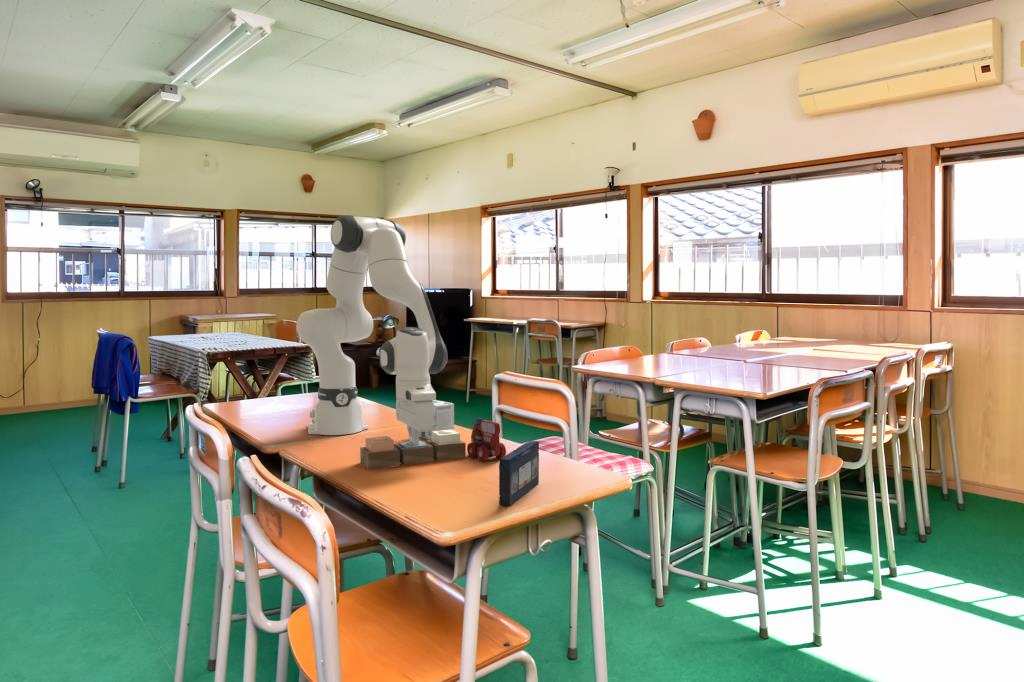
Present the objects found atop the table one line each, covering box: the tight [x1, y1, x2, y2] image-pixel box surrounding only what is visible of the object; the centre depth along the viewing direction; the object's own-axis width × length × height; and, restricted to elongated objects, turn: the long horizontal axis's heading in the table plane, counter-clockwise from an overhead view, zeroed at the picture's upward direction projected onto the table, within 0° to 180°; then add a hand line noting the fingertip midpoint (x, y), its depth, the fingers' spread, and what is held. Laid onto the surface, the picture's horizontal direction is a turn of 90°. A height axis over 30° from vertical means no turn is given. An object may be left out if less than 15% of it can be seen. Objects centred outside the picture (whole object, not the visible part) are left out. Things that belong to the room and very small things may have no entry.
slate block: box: [398, 440, 428, 449], centre depth 178 cm, size 6×6×4 cm
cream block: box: [432, 429, 461, 445], centre depth 182 cm, size 6×6×4 cm
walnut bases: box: [359, 439, 467, 471], centre depth 178 cm, size 8×26×4 cm, turn 117°
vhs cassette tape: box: [498, 440, 540, 508], centre depth 148 cm, size 18×3×10 cm, turn 157°
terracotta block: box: [364, 435, 395, 453], centre depth 174 cm, size 6×6×4 cm
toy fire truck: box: [466, 417, 507, 463], centre depth 181 cm, size 7×12×10 cm, turn 34°
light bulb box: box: [419, 399, 455, 440], centre depth 206 cm, size 11×7×11 cm, turn 42°
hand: (414, 442), depth 178 cm, fingers closed, pressing on slate block
